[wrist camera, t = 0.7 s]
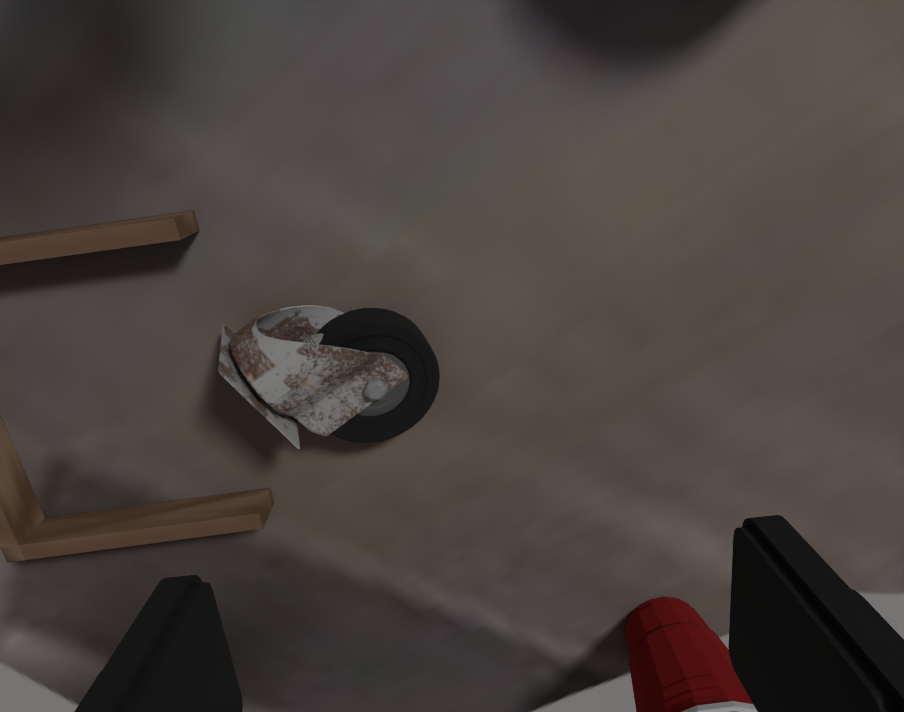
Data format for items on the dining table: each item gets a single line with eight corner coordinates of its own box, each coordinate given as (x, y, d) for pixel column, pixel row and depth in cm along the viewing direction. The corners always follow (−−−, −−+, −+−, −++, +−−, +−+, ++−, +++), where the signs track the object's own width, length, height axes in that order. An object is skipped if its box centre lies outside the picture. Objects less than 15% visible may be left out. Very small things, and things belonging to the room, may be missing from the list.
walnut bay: (-93, 250, 37) (-136, 261, 34) (193, 210, 37) (174, 218, 34) (34, 534, 44) (7, 562, 41) (273, 502, 44) (263, 528, 41)
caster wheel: (444, 360, 43) (329, 443, 44) (347, 231, 38) (215, 328, 38) (474, 407, 38) (341, 503, 38) (365, 264, 32) (208, 378, 32)
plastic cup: (570, 600, 48) (613, 747, 37) (705, 550, 47) (792, 686, 36) (614, 694, 52) (666, 853, 40) (741, 650, 50) (830, 802, 39)
